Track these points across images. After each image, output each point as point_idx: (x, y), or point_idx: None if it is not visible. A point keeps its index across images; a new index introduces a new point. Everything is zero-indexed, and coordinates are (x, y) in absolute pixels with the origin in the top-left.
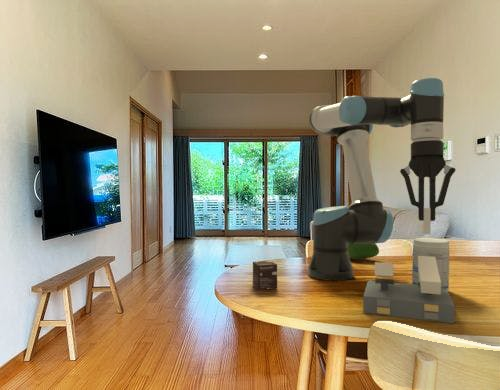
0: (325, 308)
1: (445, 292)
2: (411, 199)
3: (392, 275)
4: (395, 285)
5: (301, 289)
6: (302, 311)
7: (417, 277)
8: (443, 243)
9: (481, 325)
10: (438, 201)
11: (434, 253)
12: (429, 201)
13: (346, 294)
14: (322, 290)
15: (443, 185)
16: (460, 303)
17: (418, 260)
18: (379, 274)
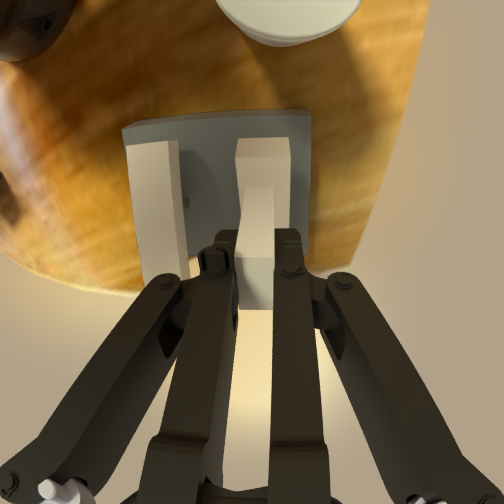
0: (102, 239)
1: (305, 170)
2: (160, 345)
3: (189, 278)
4: (189, 148)
5: (26, 153)
6: (86, 263)
7: (242, 31)
8: (339, 25)
9: (345, 230)
10: (323, 335)
11: (297, 42)
12: (273, 297)
13: (97, 140)
14: (53, 138)
15: (367, 431)
16: (340, 104)
17: (238, 186)
18: None
